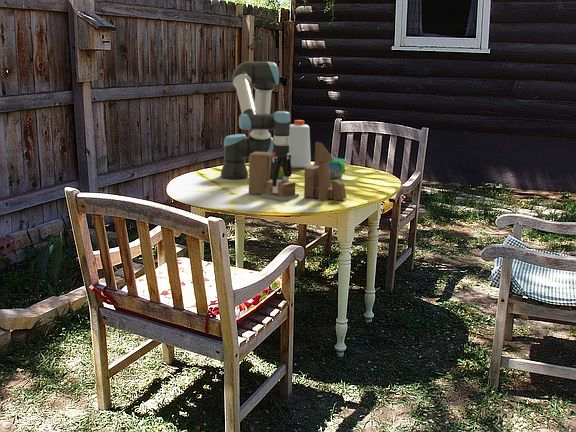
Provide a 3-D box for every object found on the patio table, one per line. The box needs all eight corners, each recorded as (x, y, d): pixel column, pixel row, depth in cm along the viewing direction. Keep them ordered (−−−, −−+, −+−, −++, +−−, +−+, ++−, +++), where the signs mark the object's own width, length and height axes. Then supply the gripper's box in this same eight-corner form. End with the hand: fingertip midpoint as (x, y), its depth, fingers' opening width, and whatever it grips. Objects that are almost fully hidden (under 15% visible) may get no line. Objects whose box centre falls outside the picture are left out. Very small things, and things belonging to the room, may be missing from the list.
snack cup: (350, 179, 373) (350, 161, 371) (333, 180, 369) (333, 162, 367) (337, 174, 387) (338, 156, 385) (320, 175, 383) (321, 157, 381)
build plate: (261, 197, 321) (261, 194, 321) (276, 193, 332) (276, 190, 331) (284, 201, 314) (284, 198, 314) (298, 196, 325) (298, 193, 325)
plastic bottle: (311, 168, 404) (312, 122, 398) (286, 167, 404) (287, 121, 397) (309, 164, 419) (311, 119, 412) (285, 163, 419) (286, 118, 412)
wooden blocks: (339, 204, 311) (341, 144, 305) (299, 199, 319) (301, 141, 312) (355, 194, 333) (358, 138, 326) (317, 190, 341) (319, 135, 334)
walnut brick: (265, 193, 323) (265, 181, 322) (276, 191, 329) (276, 179, 328) (284, 197, 316) (284, 184, 315) (295, 194, 322) (295, 182, 321)
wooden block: (267, 195, 326) (268, 155, 321) (248, 194, 328) (248, 153, 323) (272, 191, 335) (273, 152, 330) (253, 190, 337) (254, 151, 332)
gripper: (275, 147, 306) (274, 195, 312) (300, 143, 324) (298, 188, 329) (262, 146, 310) (261, 193, 315) (286, 141, 328) (286, 187, 333)
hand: (280, 191), depth 322 cm, fingers closed on walnut brick, 8 cm apart
